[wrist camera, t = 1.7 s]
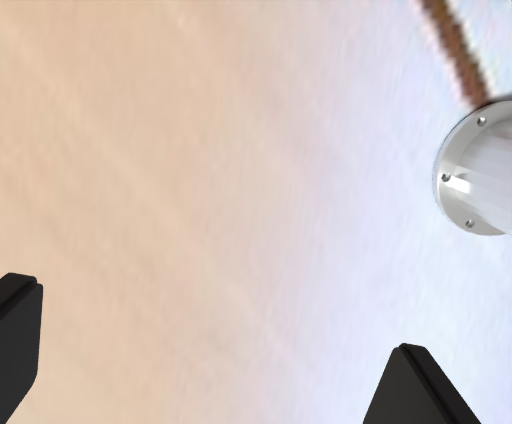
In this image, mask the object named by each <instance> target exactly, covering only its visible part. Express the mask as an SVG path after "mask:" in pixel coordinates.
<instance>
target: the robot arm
mask: <svg viewBox="0 0 512 424" xmlns="http://www.w3.org/2000/svg"><path fill="white" fill-rule="evenodd" d="M477 120H478V122H477ZM442 175H443V177H442ZM432 181H433V192H434V196H435V199H436V203H437V205H438V206H439V208H440V210H441V212H442V213H443V214H444V215H445V217H446V218H447V219H448V220H449V221H451V222H452V223H453V224H455V225H456V226H458V227H459V228H461V229H463V230H464V231H467V232H470V233H473V234H476V235H483V236H496V235H503V234H508V235H510V236H512V101H501V102H497V103H494V104H490V105H487V106H485V107H483V108H481V109H479V110H477V111H475V112H473V113H472V114H471V115H469V116H468V117H466V118H465V119H463V120H462V121H461V122H460V123H459V124H458V125H457V126H456V127H455V128H454V129H453V130H452V132H451V133H450V134H449V136H448V137H447V138H446V140H445V141H444V143H443V145H442V147H441V149H440V151H439V153H438V155H437V158H436V162H435V165H434V170H433V178H432ZM42 300H43V285H42V284H39V283H37V279H36V278H35V277H34V276H28V275H22V274H17V273H8V274H6V275H5V276H3V277H2V278H1V279H0V424H6V422H7V421H8V419H9V418H10V417H11V415H12V414H13V412H14V411H15V409H16V408H17V407H18V405H19V404H20V402H21V401H22V400H23V398H24V397H25V395H26V394H27V392H28V391H29V390H30V388H31V387H32V385H33V383H34V381H35V378H36V375H37V370H38V356H39V342H40V328H41V314H42ZM363 424H481V423H480V421H479V420H478V418H477V417H476V416H475V414H474V413H473V412H472V410H471V409H470V408H469V406H468V405H467V403H466V402H465V401H464V399H463V398H462V397H461V395H460V394H459V392H458V391H457V390H456V388H455V387H454V386H453V384H452V383H451V381H450V380H449V379H448V377H447V376H446V375H445V373H444V372H443V371H442V369H441V368H440V366H439V365H438V364H437V362H436V361H435V360H434V358H433V357H432V355H431V354H430V353H429V351H428V350H427V349H426V348H425V347H423V346H418V345H412V344H407V343H402V344H401V345H400V346H399V347H396V348H394V349H393V351H392V353H391V355H390V358H389V360H388V363H387V365H386V367H385V370H384V372H383V375H382V377H381V379H380V382H379V384H378V387H377V389H376V392H375V394H374V396H373V399H372V401H371V404H370V406H369V408H368V411H367V413H366V416H365V418H364V421H363Z"/></svg>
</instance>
